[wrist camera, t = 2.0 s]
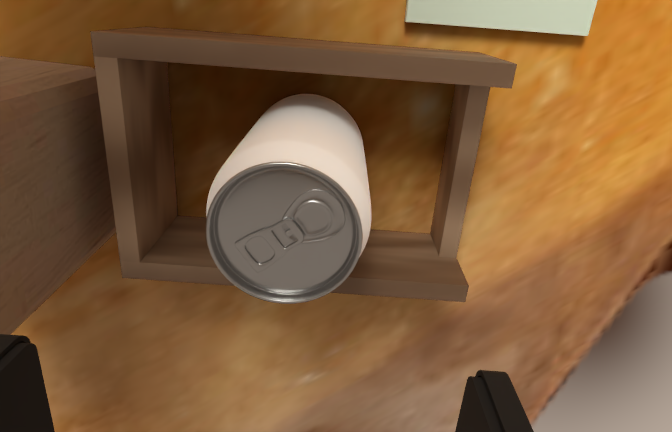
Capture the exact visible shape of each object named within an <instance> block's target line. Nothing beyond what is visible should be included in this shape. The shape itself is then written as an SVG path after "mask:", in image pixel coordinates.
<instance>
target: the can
mask: <svg viewBox="0 0 672 432" xmlns="http://www.w3.org/2000/svg"><path fill="white" fill-rule="evenodd" d="M206 216H207V219H206V240H207V245H208V248H209V251H210V254H211V256H212V258H213V260H214V262H215V264H216V266H217V267H218V269H219V270H220V271H221V273H222V274H223V275H224V276H225V277H226V278H227V279H228V280H229V281H230V282H231V283H232V284H234V285H235V286H236V287H237V288H239V289H240V290H242V291H244V292H245V293H247V294H249V295H251V296H253V297H256V298H259V299H262V300H265V301H269V302H274V303H283V304H293V303H302V302H307V301H311V300H314V299H317V298H320V297H322V296H324V295H326V294H328V293H330V292H331V291H333V290H334V289H336V288H337V287H338V286H340V285H341V284H342V283H343V282H344V281H345V280H346V279H347V277H348V276H349V275H350V274H351V272H352V271H353V269H354V267H355V266H356V263H357V261H358V259H359V257H360V255H361V254H362V252H363V250H364V248H365V246H366V243H367V241H368V237H369V234H370V228H371V200H370V191H369V183H368V175H367V168H366V160H365V153H364V146H363V140H362V135H361V132H360V130H359V127H358V126H357V124H356V122H355V121H354V119H353V118H352V117H351V115H350V114H349V113H348V112H347V111H346V110H345V109H344V108H343V107H342V106H341V105H339V104H338V103H336V102H335V101H333V100H331V99H329V98H326V97H323V96H320V95H315V94H297V95H293V96H289V97H286V98H284V99H282V100H280V101H278V102H276V103H275V104H274V105H272V106H271V107H270V108H269V109H268V110H267V111H266V112H265V113H264V114H263V115H262V116H261V117H260V119H259V120H258V121H257V122H256V123H255V125H254V126H253V127H252V128H251V130H250V131H249V132H248V133H247V135H246V136H245V137H244V138H243V140H242V141H241V142H240V143H239V145H238V146H237V147H236V149H235V150H234V151H233V152H232V154H231V155H230V156H229V158H228V159H227V160H226V162H225V163H224V164H223V166H222V167H221V169H220V170H219V172H218V173H217V175H216V177H215V179H214V181H213V183H212V186H211V188H210V191H209V195H208V199H207V207H206Z"/></svg>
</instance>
